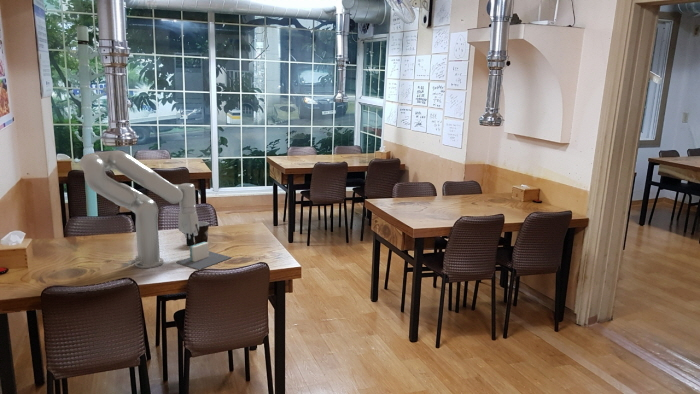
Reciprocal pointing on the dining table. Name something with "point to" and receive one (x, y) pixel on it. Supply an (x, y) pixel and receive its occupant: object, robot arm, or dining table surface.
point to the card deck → (199, 251)
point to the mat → (204, 261)
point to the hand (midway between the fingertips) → (190, 245)
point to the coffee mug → (202, 233)
